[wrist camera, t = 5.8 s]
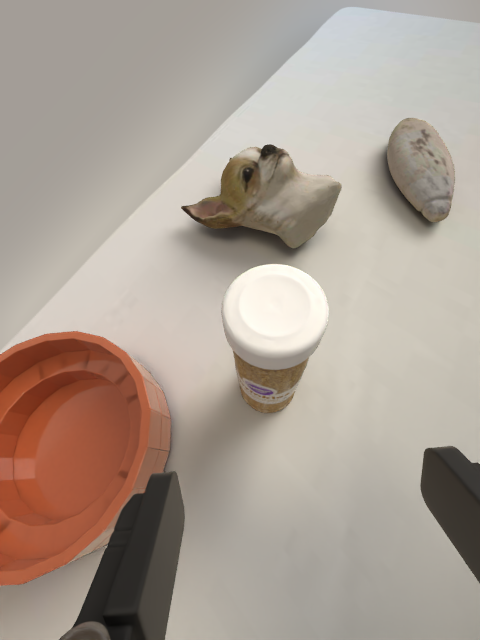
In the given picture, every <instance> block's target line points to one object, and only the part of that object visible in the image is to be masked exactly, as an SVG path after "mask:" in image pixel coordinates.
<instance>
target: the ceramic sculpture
mask: <svg viewBox="0 0 480 640" xmlns="http://www.w3.org/2000/svg"><path fill="white" fill-rule="evenodd" d="M229 161H230V162H229V163H228V164H227V166H226V168H225V169H224V171H223V174H222V177H221V194H220V196H216V197H208V198H205V199H203V200H202V201H200V202H198V203H197V204H194V205H190V206H182V207H181V209H183V210H184V211H185V212H186V213H187V214H188V215H189V216H190V217H191V218H193V219H194V220H195V221H197V222H199V223H201V224H203V225H205V226H207V227H210V228H229V227H238V226H245V227H249V228H252V229H257V230H262V231H265V232H268V233H273V234H276V235H278V236H279V237H280V238H281V239H282V240H283V242H284V243H286V244H287V245H288V246H289V247H291V248H297V247H299V246H300V245H301V244H303V243H304V242H306V241H308V240H309V239H310V238H311V237H313V236H314V234H315V233H316V231H317V230H318V229H319V228H320V227H321V226H322V225H323V224H324V223H326V221H327V219H328V218H329V216H330V215H331V214H332V211H333V208H334V206H335V203H336V201H337V198H338V195H339V193H340V191H341V188H342V187H341V184H340V183H339V182H336V181H335V180H334V179H333V178H332V177H331V176H328V175H309V174H305V173H302V172H300V171H299V170H298V169H297V168H296V167H295V166H294V164H293V161H292V159H291V157H290V156H289V154H288V152H287V151H285V150H284V149H280V148H277V147H275V146H274V145H265V146H264V147H263V148H262V149H260V148H258V147H250V148H247V149H245V150H243V151H242V152H240V153H238V154H237V155H236V156H235V157H233V158H230V160H229Z"/></svg>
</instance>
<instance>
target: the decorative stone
mask: <svg viewBox="0 0 480 640" xmlns="http://www.w3.org/2000/svg"><path fill="white" fill-rule="evenodd" d="M387 158H388V166H389V169H390V173H391V175H392V177H393V179H394V181H395V183H396V185H397V186H398V188H399V189H400V190H401V192H402V193H403V195H404V196H405V197H406V198H407V199H408V201H409V202H410V203H411V204H412V205H413V206H414V208H415V209H417V210H418V211H421V212H422V214H423V216H424V217H425V218H427V219H428V220H429V221H430V222H438V221H441V220H443V219H445V218H446V217H447V216H448V214H449V211H450V208H451V201H452V197H453V192H454V184H455V171H454V164H453V162H452V159H451V156H450V153H449V151H448V149H447V147H446V145H445V143H444V142H443V140H442V139H441V137H440V136H439V134H438V132H437V131H436V130H435V129H434V128H433V127H432V126H431V125H430V124H429V123H427V122H426V121H423V120H419V119H416V118H407V119H404V120H402V121H401V122H400V123H399V124H398V125H397V126H396V127H395V129H394V130H393V132H392V134H391V136H390V139H389V143H388V150H387Z"/></svg>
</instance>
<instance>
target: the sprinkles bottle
mask: <svg viewBox="0 0 480 640" xmlns="http://www.w3.org/2000/svg"><path fill="white" fill-rule="evenodd" d="M221 313H222V321H223V326H224V331H225V335H226V338H227V341H228V343H229V345H230V346H231V348H232V349H233V353H234V358H235V366H236V371H237V375H238V379H239V383H240V389H241V393H242V396H243V398H244V400H245V401H246V402H247V404H249V405H250V406H251V407H252V408H254V409H255V410H257V411H260V412H264V413H272V412H276V411H279V410H282V409H283V408H285V407H286V406H287V405H288V404H289V403H290V401H291V400H292V398H293V395H294V393H295V390H296V388H297V386H298V383H299V381H300V379H301V377H302V374H303V372H304V370H305V368H306V365H307V362H308V359H309V356H311V355H312V354H313V353H314V351H315V350H316V348H317V347H318V345H319V343H320V341H321V339H322V336H323V334H324V332H325V329H326V326H327V323H328V317H329V307H328V302H327V299H326V296H325V294H324V292H323V290H322V288H321V287H320V285H319V284H318V283H317V282H316V281H315V280H314V279H313V278H312V277H311V276H309V275H308V274H307V273H305V272H303V271H302V270H299V269H297V268H294V267H291V266H287V265H282V264H267V265H261V266H257V267H254V268H251V269H249V270H247V271H246V272H244V273H242V274H241V275H239V276H238V277H237V278H236V279H235V280H234V281H233V282H232V283H231V285H230V286H229V287H228V289H227V291H226V293H225V295H224V298H223V302H222V312H221Z"/></svg>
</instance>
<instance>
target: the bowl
mask: <svg viewBox="0 0 480 640" xmlns="http://www.w3.org/2000/svg"><path fill="white" fill-rule="evenodd" d="M170 432H171V418H170V414H169V410H168V407H167V403H166V399H165V395H164V393H163V391H162V389H161V388H160V386H159V385H158V384H157V382H156V381H155V379H154V378H153V376H152V375H151V374H150V372H149V371H147V370H146V369H145V368H144V367H143V366H142V365H140V364H139V363H138V362H137V361H136V360H135V359H133V358H132V357H131V356H130V355H129V354H128V353H126V352H125V351H123V350H122V349H120V348H119V347H117V346H116V345H114V344H113V343H111V342H110V341H108V340H107V339H105V338H103V337H100V336H95V335H91V334H86V333H82V332H78V331H73V332H62V333H50V334H44V335H42V336H39V337H36V338H33V339H30V340H28V341H25V342H22V343H19V344H17V345H15V346H13V347H11V348H10V349H8V350H7V351H5V352H4V353H2V354H0V586H3V585H20V584H25V583H27V582H29V581H31V580H33V579H36V578H38V577H40V576H42V575H44V574H47V573H49V572H51V571H53V570H55V569H58V568H60V567H62V566H64V565H66V564H68V563H70V562H72V561H74V560H76V559H78V558H80V557H82V556H84V555H86V554H88V553H90V552H92V551H94V550H96V549H98V548H100V547H102V546H104V545H106V544H108V542H109V540H110V537H111V535H112V532H114V527H115V525H116V522H117V520H118V517H119V515H120V512H121V510H122V509H123V507H124V506H125V505H126V504H127V502H128V501H129V500H130V499H131V497H132V496H133V495H134V494H138V493H144V492H145V489H146V486H147V483H148V480H149V478H150V476H151V474H153V473H163V470H164V467H165V464H166V461H167V458H168V455H169V451H170Z"/></svg>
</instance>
